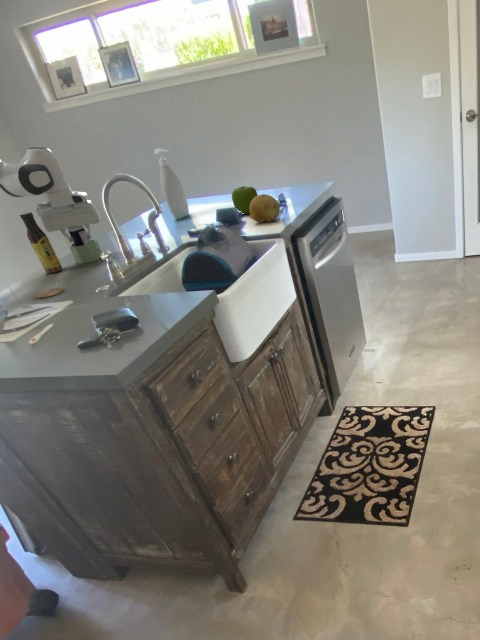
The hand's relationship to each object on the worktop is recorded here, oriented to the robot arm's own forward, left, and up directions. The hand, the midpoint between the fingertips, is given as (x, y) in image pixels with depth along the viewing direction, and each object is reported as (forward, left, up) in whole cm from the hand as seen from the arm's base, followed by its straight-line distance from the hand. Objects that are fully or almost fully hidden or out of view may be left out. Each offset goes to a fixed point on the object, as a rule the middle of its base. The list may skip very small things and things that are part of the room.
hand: (81, 239), depth 200 cm
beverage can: (0, 0, -7) cm, 7 cm away
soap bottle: (+36, +46, -7) cm, 59 cm away
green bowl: (0, 0, -7) cm, 7 cm away
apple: (+66, +26, -7) cm, 71 cm away
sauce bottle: (-12, -8, -7) cm, 16 cm away
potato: (+72, +3, -7) cm, 72 cm away
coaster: (-8, -37, -7) cm, 39 cm away
